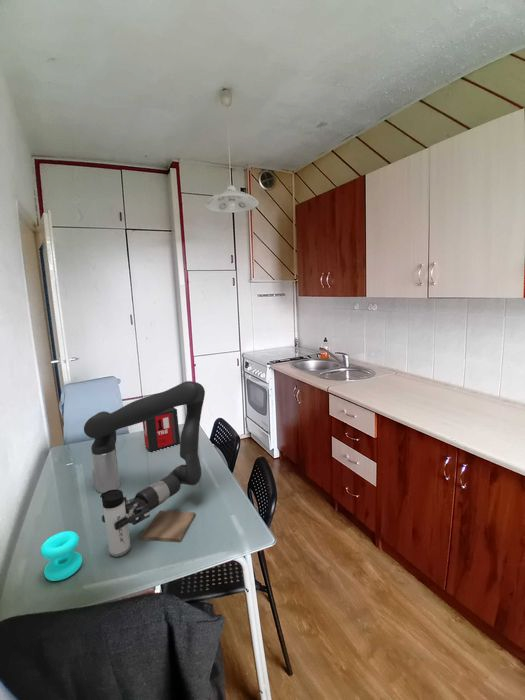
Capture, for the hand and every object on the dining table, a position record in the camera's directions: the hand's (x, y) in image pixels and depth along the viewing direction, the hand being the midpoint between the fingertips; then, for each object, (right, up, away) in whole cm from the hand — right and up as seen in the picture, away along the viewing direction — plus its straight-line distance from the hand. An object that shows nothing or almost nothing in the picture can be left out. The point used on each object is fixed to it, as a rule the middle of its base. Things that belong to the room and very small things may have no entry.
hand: (108, 523), depth 108 cm
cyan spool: (-12, -13, -3) cm, 18 cm away
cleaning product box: (-7, +1, +82) cm, 83 cm away
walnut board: (+15, -8, +14) cm, 22 cm away
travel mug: (+2, -11, +4) cm, 11 cm away
